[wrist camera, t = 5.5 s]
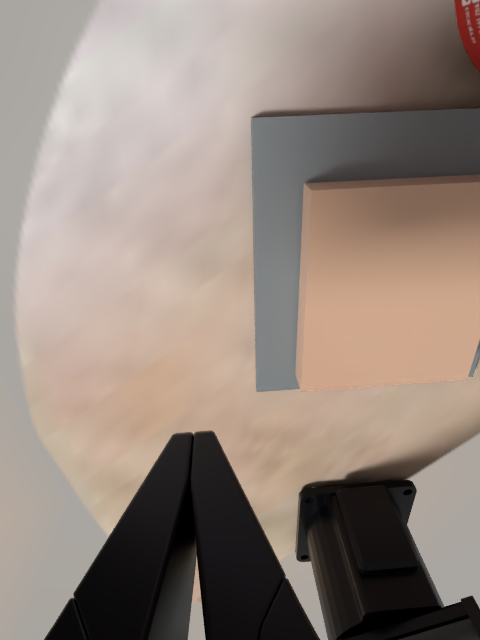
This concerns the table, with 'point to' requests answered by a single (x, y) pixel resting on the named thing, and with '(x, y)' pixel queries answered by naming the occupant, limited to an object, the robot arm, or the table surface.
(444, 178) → the tile
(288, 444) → the table surface
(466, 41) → the beverage can
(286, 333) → the mat
